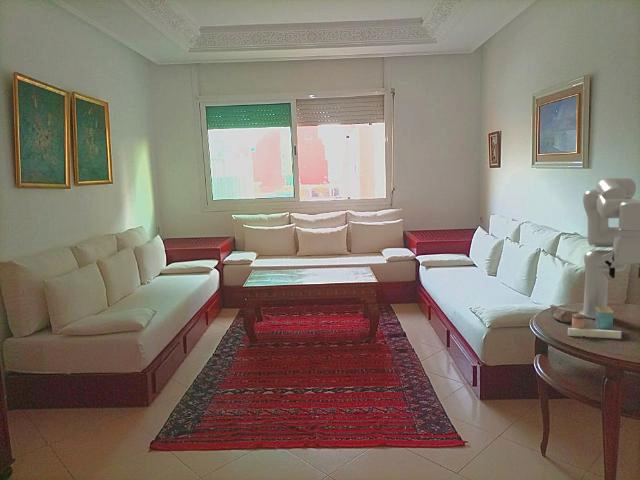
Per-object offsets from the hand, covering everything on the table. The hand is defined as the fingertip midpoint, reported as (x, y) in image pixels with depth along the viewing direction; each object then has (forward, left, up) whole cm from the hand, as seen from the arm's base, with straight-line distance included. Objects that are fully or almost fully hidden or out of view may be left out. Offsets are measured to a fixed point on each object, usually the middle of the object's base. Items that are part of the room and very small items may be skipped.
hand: (626, 277), depth 190 cm
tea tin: (-22, -1, -29) cm, 37 cm away
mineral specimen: (-33, -15, -29) cm, 47 cm away
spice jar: (-16, -12, -29) cm, 35 cm away
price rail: (-12, -7, -29) cm, 32 cm away
